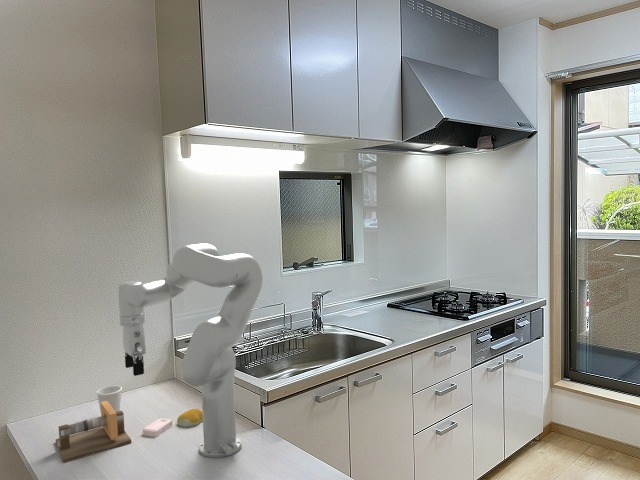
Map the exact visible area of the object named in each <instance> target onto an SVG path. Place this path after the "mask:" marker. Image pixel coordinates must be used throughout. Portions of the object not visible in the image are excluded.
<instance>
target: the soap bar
mask: <svg viewBox="0 0 640 480" xmlns="http://www.w3.org/2000/svg"><path fill="white" fill-rule="evenodd" d="M171 427H173V420H172V419H169V418H158V419H156V420H155V421H153V422H152V423H150V424H148V425H147V426H145V427H144V428H142V435H143V436H145V437H153V438H155V437H156V438H157V437H158V436H160V435H161V434H163V433H164V432H165V431H167V430H169V429H170V428H171Z"/></svg>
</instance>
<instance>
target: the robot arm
mask: <svg viewBox="0 0 640 480" xmlns="http://www.w3.org/2000/svg"><path fill="white" fill-rule="evenodd" d="M193 282H197V283H200V284H202V285H205V286H208V287H211V288H216V289H217V288H218V289H220V288H225V287H229V286H233V287H231V290H229V292H228V293H227V295H226V296H225V298H224V300H223V303H222V306H221V308H220V310H219V311H218V314H217V315H216V316H215V317H211V318H209V319H206V320H204V321H202V322H201V323H199V324H198V325H197V326H196V328H195V329H194V331H193V332H192V335H191V337H190V339H189V342H188V345H187V348H186V350H185V353H184V356H183V358H182V362H181V367H180V368H181V369H180V372H181V377H182V378H183V380H184V382H185V383H186V384H187V385H188V386H190V387H191V386H192V387H194V388H195V387H196V388H198V387H201V411H202V414H203V421H202V431H203V441H201V442H200V444H199V446H198V452H199V454H201V455H202V456H203V457H206V458H212V459H214V458H216V459H217V458H223V457H224V458H225V457H228V456H231V455H233V454H235V453H237V452H238V451H239V450H240V449H241V448H242V440H241V438H239V437H238V436H237V432H236V431H237V429H236V428H237V427H236V412H235V411H236V409H235V383H234V382H235V371H236V363H237V359H236V353H235V351H234V349H233V348H232V347H233V346H234V345H236V344H237V343H239V342H240V340H241V339H242V338H243V337H242V336H243V335H244V331H245V330H246V328H247V324H248V322H249V319H250V317H251V314H252V312H253V310H254V307H255V304H256V303H257V300H258V298H259V296H260V293H261V290H262V286H263V273H262V268H261V266H260V264H259V262H258V260H257V259H255V258H254V256H252V255H250V254H246V253H233V254H232V253H231V254H227V255H221V256H220V252H219V249H217V248H216V247H215V246H214V245H212V244H209V243H196V244H189V245H184V246H182V247H179V248H178V249H177V250H176V251H175V253H174V254H173V257H172V262H169V264H168V266H167V267H166V276H165V277H163V278H161V279H157V280H152V281H146V282H143V283H142V282H141V281H137V280H129V281H123V282H121V283H119V285H118V288H117V289H118V309H119V325H120V327H122V342H123V343H122V345H123V350H124V363H125V365H124V366H125V368H126V369H128V368H129V369H130V368H132V371H133V376H134V377H136V376H141V375H144V374H145V368H144V367H145V366H144V365H145V363H144V362H145V361H144V355H145V354H146V353H147V349H146V336H145V328H144V324H145V308H149V307H152V306H154V305H159V304H162V303H166V302H169V301H171V300H173V299H174V298H175V297H177V296H179V295H181V294H182V293H183V292H184V291H186V289H187V288H188V286H189V285H190V284H192V283H193Z"/></svg>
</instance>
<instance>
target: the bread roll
mask: <svg viewBox="0 0 640 480" xmlns="http://www.w3.org/2000/svg"><path fill="white" fill-rule="evenodd" d="M176 423H177V425H178V426H180V427H183V428H184V427H185V428H191V427H194V426H197V425H199V424H200V423H203V414H202V409H198V408H191V409H188V410H187V411H184V412H183V413H181V414H180V415H178V417H177V420H176Z"/></svg>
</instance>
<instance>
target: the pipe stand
mask: <svg viewBox="0 0 640 480" xmlns="http://www.w3.org/2000/svg"><path fill="white" fill-rule="evenodd" d="M116 413H117V428H118V438H117V439H114V440H111V439H110V437H109V436H108V434H107V433H106V431H105V430H104V428H103V427H102V426H106V425H107V416H102V417H101V416H99V417H95V418H91V419H88V420H87V419H85V420H83V421H79V422H78V421H77V422H75V423H71V424H67V423H66V424H63V425H59V426H58V435H59V436H58V438H56V439H55V443H56V447H57V449H58V452H59V455H60V457H61V459H62V462H63V463H67V462H69V461H74V460H77V459H80V458H85V457H88V456H91V455H94V454H93V453H95V454H98V453H101V451H102V452H105V451H108V449H109V450H112V449H115V448H118V447H119V448H120V447H122V446H125V445H129V444H132V439H131V437H130V436H129V435H128V434H127V432H126V431H125V430H126V429H125V419H124V418H125V417H124V416H125V415H124V414H125V413H124V412H123V411H122V410H121V409H120V411H117V412H116ZM104 450H105V451H104ZM97 452H98V453H97ZM90 454H91V455H90ZM87 455H88V456H87ZM84 456H85V457H84Z"/></svg>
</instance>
